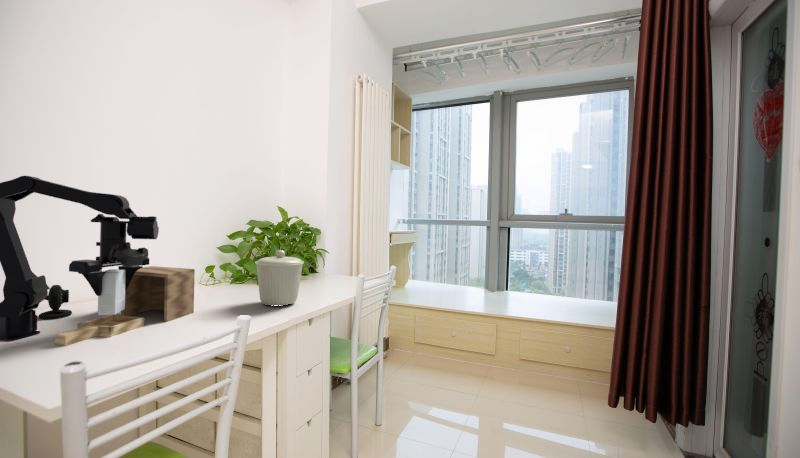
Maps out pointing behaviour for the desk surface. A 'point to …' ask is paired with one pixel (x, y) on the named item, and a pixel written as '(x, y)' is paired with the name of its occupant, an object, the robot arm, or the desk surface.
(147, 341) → the desk surface
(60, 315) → the webcam
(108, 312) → the skincare box
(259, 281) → the canister
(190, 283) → the wooden open box
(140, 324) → the wooden tray with handle
